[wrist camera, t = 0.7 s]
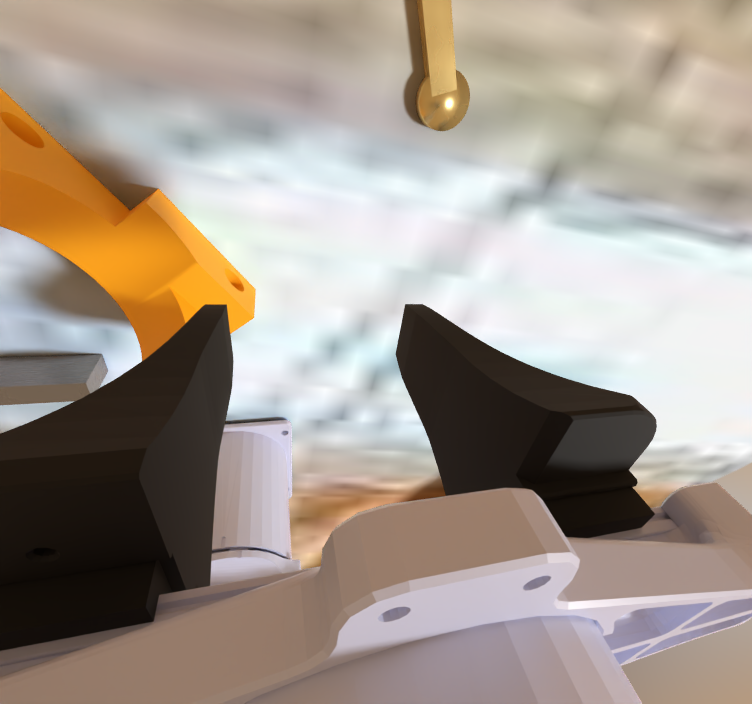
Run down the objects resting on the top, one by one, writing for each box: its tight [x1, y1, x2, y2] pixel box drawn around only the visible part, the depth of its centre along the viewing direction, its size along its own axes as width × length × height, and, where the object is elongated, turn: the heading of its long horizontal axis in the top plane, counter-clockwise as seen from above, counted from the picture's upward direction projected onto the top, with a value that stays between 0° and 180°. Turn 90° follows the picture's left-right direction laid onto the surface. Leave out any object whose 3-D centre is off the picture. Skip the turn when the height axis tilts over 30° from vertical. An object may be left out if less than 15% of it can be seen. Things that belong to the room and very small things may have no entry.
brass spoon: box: [416, 0, 470, 131], centre depth 16 cm, size 6×2×1 cm, turn 13°
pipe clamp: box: [0, 88, 256, 361], centre depth 16 cm, size 12×4×6 cm, turn 31°
